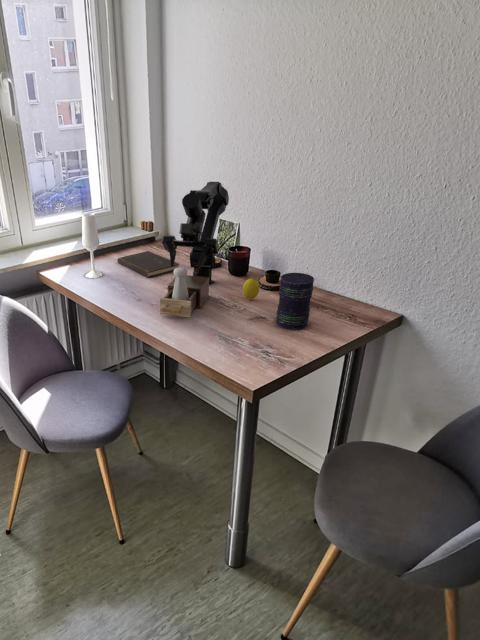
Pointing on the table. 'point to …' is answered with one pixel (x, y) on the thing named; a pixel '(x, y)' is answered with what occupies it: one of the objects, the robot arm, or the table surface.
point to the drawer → (178, 304)
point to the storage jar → (294, 301)
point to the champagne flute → (90, 239)
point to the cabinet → (196, 287)
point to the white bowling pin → (180, 284)
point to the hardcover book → (147, 263)
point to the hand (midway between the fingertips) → (184, 267)
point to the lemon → (251, 288)
